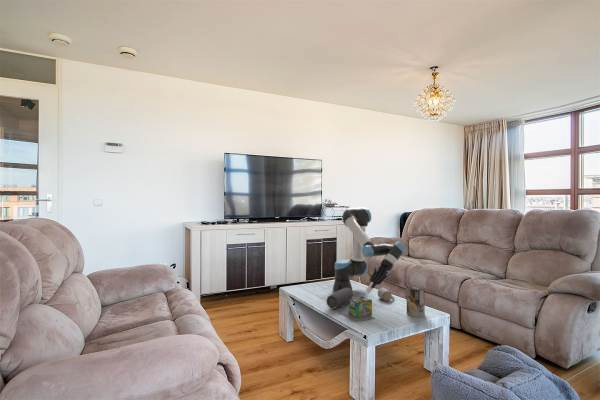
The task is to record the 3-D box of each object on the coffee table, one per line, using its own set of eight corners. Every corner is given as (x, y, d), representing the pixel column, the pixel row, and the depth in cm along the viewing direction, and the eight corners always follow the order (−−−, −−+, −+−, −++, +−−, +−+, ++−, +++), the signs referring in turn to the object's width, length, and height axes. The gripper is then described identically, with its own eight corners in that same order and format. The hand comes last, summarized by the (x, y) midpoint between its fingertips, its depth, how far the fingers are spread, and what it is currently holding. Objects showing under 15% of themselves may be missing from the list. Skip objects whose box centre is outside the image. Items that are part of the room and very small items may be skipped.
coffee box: (425, 315, 193) (425, 288, 194) (420, 318, 189) (419, 291, 189) (411, 311, 200) (411, 286, 200) (406, 314, 196) (405, 287, 196)
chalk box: (362, 310, 203) (343, 314, 195) (362, 295, 203) (343, 299, 195) (372, 314, 195) (353, 319, 187) (372, 299, 195) (353, 304, 187)
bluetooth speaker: (342, 300, 225) (342, 285, 225) (354, 302, 220) (354, 287, 220) (325, 309, 207) (325, 293, 207) (338, 311, 201) (338, 295, 201)
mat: (337, 311, 202) (337, 310, 202) (355, 308, 208) (355, 307, 208) (355, 322, 183) (355, 321, 183) (375, 318, 189) (375, 317, 189)
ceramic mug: (382, 302, 220) (383, 290, 220) (377, 298, 228) (377, 287, 228) (396, 301, 222) (396, 290, 222) (390, 297, 230) (390, 286, 230)
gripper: (398, 268, 202) (377, 298, 195) (385, 264, 213) (364, 292, 206) (392, 260, 199) (370, 290, 192) (378, 257, 211) (358, 285, 204)
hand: (367, 291), depth 199 cm, fingers closed
